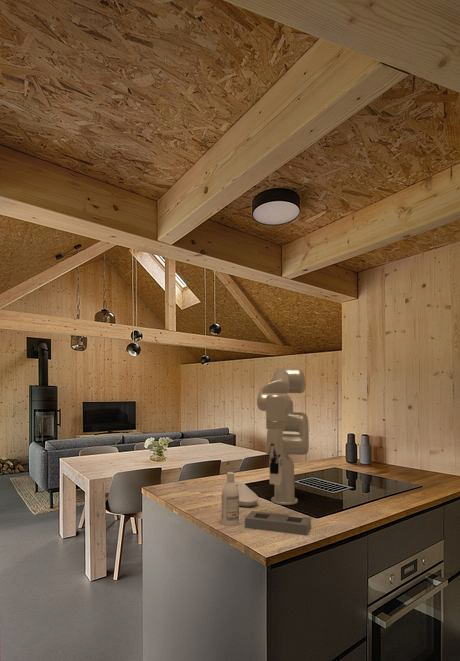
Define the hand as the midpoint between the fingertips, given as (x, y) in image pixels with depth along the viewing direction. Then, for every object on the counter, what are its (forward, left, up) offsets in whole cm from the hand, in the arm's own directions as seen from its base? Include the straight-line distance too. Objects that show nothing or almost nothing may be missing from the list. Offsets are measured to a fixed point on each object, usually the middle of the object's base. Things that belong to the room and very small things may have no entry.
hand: (275, 471), depth 164 cm
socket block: (0, +1, -21) cm, 21 cm away
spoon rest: (-31, -23, -22) cm, 45 cm away
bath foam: (+2, -18, -21) cm, 28 cm away
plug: (0, 0, -4) cm, 4 cm away
